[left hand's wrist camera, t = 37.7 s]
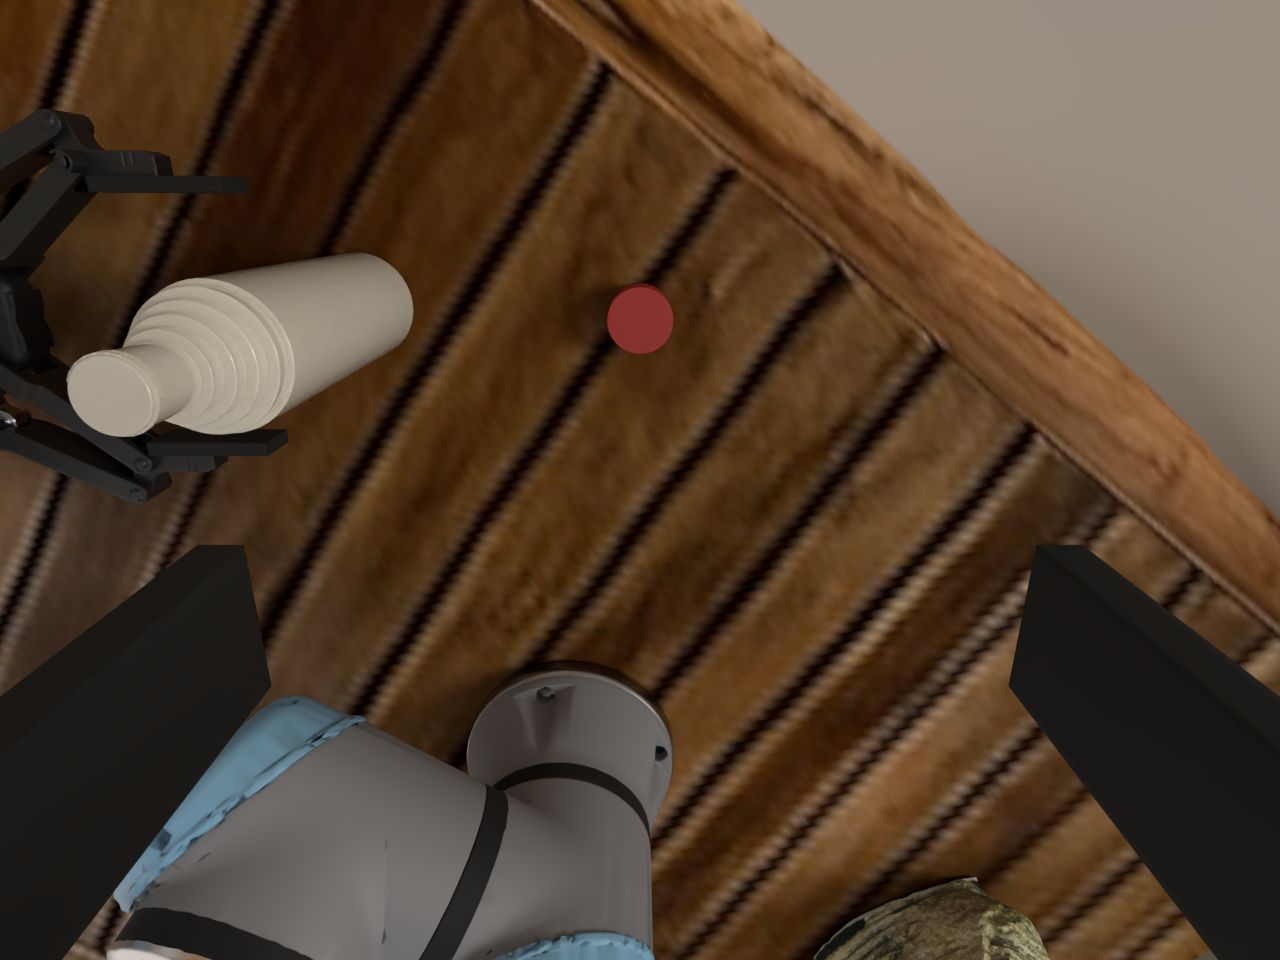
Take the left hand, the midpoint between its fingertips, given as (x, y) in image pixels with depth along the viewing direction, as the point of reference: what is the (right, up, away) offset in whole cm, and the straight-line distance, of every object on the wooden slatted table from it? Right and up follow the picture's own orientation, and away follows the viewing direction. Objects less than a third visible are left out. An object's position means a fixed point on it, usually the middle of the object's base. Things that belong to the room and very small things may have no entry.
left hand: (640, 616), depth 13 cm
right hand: (-20, +11, +28) cm, 36 cm away
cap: (0, +12, +32) cm, 34 cm away
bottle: (-17, +13, +34) cm, 40 cm away
